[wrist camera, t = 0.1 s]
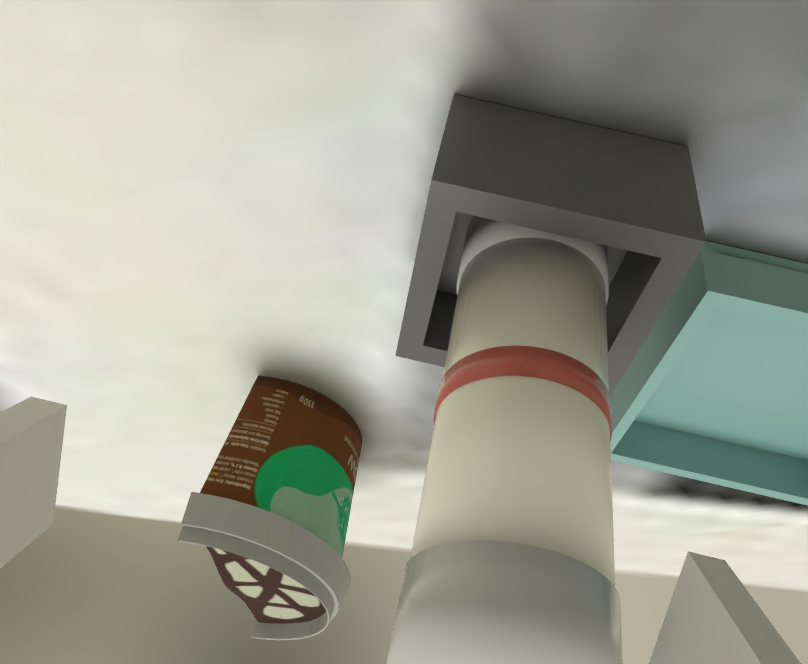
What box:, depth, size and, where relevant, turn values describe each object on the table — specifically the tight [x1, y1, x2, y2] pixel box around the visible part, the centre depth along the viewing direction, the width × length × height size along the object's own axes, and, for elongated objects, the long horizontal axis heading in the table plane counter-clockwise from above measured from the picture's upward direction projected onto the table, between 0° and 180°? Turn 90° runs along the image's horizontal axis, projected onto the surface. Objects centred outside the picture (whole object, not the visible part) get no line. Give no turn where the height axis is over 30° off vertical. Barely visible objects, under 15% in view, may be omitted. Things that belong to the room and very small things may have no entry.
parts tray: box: [610, 241, 808, 505], centre depth 28 cm, size 11×11×3 cm
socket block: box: [396, 94, 706, 396], centre depth 24 cm, size 8×8×5 cm
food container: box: [178, 376, 362, 640], centre depth 36 cm, size 12×6×10 cm, turn 8°
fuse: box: [387, 216, 622, 664], centre depth 19 cm, size 5×5×15 cm
